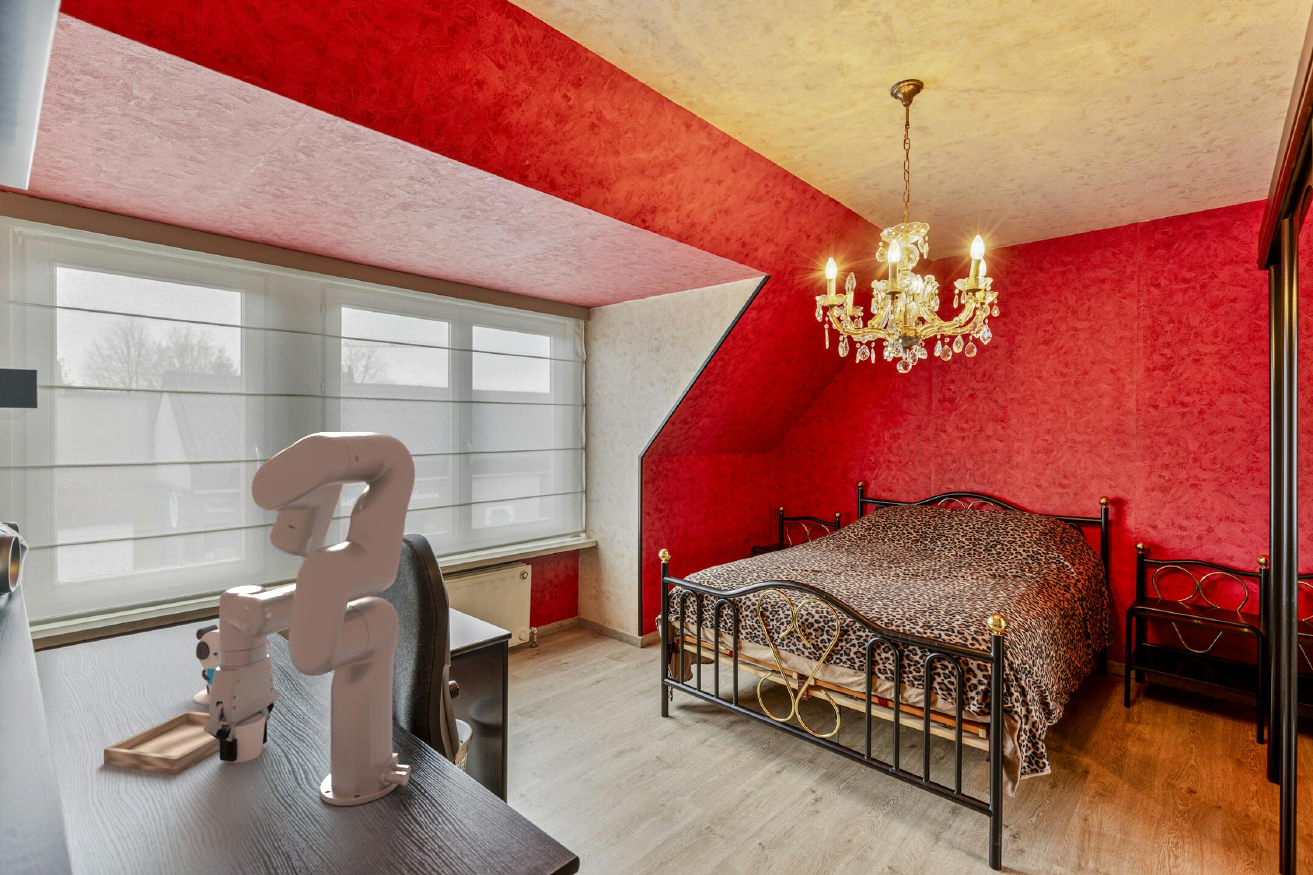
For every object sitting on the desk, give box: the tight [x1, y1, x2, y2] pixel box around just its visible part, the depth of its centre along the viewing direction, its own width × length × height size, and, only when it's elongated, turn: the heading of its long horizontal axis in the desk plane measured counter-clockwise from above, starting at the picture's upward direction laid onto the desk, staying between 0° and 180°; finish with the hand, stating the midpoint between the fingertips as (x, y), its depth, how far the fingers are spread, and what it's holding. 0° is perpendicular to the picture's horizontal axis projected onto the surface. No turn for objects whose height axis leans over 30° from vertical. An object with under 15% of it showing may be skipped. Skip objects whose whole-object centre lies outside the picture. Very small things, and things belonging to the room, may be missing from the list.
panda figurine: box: [193, 624, 219, 705], centre depth 144 cm, size 12×11×15 cm
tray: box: [103, 710, 221, 775], centre depth 119 cm, size 16×16×3 cm
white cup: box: [225, 712, 266, 764], centre depth 116 cm, size 7×7×7 cm
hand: (243, 750), depth 116 cm, fingers closed on white cup, 5 cm apart
